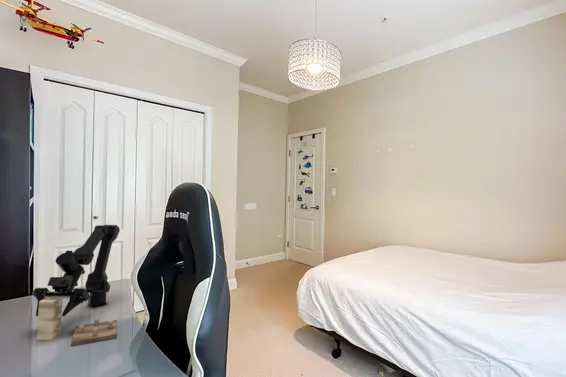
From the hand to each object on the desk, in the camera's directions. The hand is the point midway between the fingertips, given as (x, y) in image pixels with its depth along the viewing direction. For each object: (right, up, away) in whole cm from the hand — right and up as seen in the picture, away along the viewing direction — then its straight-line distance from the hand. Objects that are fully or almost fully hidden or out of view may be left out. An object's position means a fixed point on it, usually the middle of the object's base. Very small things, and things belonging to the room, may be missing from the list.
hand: (49, 316), depth 109 cm
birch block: (0, -8, 0) cm, 8 cm away
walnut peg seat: (+15, -8, +4) cm, 17 cm away
